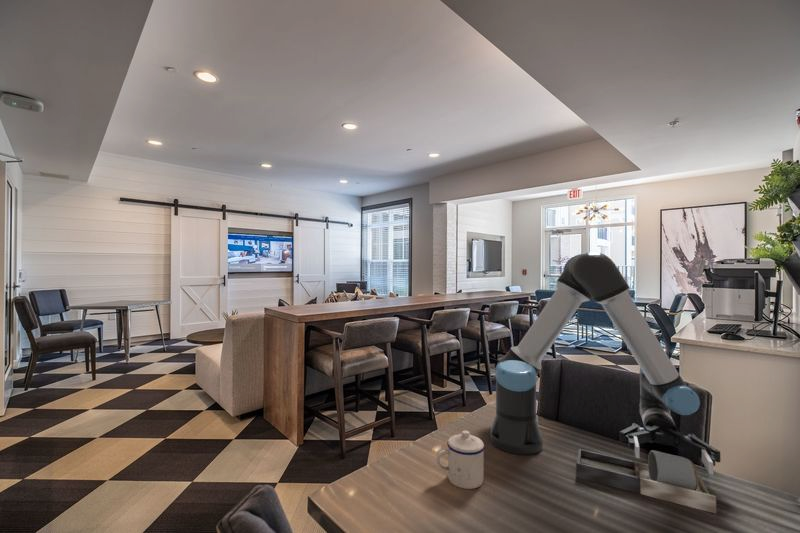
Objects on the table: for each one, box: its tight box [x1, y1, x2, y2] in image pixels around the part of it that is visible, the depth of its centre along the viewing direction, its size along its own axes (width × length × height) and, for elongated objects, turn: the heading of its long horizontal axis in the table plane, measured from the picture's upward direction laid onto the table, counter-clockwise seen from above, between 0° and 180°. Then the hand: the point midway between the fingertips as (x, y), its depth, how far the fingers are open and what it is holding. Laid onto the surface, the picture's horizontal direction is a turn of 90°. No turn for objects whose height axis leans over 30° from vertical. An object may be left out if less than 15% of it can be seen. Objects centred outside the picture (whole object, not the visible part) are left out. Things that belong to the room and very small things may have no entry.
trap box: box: [575, 448, 717, 514], centre depth 87 cm, size 27×13×4 cm, turn 60°
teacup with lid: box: [435, 430, 485, 490], centre depth 87 cm, size 12×9×12 cm
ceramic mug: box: [647, 449, 699, 491], centre depth 84 cm, size 11×8×8 cm
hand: (672, 460), depth 81 cm, fingers open, 13 cm apart
